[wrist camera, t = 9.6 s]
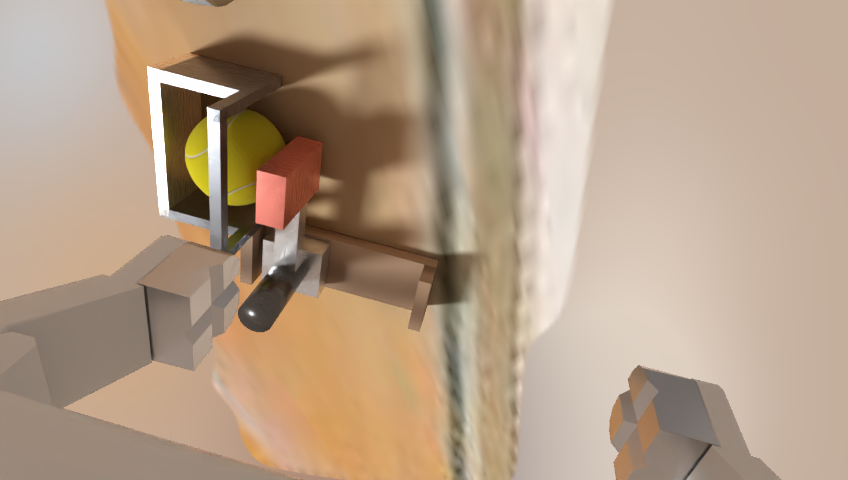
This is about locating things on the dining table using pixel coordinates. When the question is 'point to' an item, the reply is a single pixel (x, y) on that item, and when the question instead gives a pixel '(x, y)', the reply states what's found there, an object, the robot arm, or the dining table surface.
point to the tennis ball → (235, 154)
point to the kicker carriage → (286, 233)
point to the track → (361, 270)
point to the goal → (175, 120)
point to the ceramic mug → (210, 2)
